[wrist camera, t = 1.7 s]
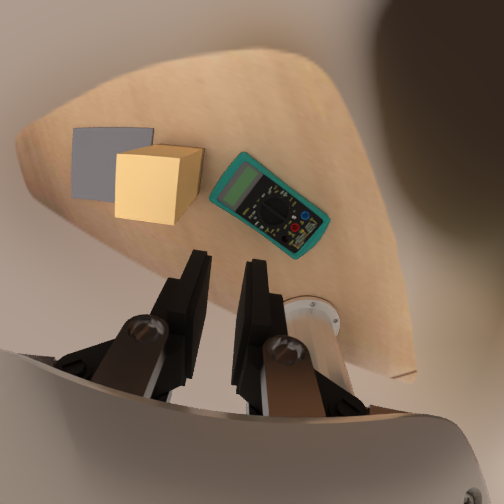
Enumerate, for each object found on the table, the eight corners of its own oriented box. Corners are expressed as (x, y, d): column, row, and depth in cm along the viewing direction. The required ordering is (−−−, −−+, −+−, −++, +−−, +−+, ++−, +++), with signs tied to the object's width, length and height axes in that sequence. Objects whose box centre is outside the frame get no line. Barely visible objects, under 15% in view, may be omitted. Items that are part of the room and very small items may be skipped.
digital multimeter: (296, 255, 39) (299, 265, 36) (208, 194, 35) (205, 199, 32) (330, 216, 36) (336, 224, 34) (242, 148, 33) (241, 150, 30)
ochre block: (198, 193, 35) (174, 225, 24) (155, 188, 34) (115, 217, 23) (204, 148, 32) (180, 158, 21) (159, 144, 32) (116, 153, 21)
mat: (147, 205, 35) (146, 206, 35) (73, 197, 34) (71, 197, 34) (154, 128, 31) (152, 128, 30) (74, 128, 30) (73, 128, 29)
